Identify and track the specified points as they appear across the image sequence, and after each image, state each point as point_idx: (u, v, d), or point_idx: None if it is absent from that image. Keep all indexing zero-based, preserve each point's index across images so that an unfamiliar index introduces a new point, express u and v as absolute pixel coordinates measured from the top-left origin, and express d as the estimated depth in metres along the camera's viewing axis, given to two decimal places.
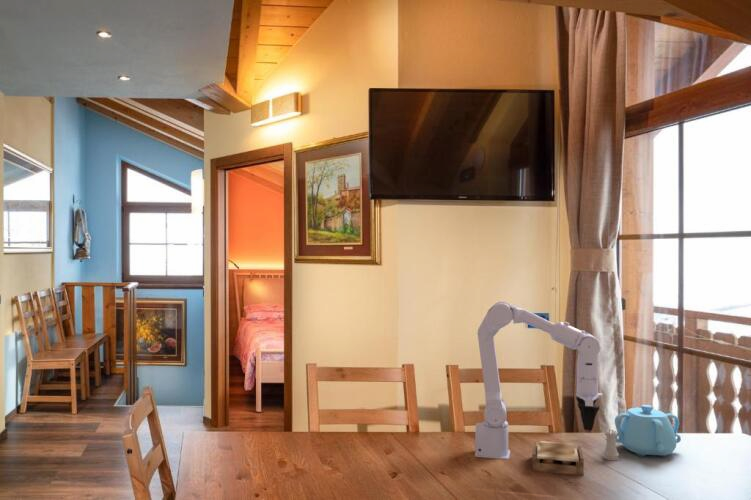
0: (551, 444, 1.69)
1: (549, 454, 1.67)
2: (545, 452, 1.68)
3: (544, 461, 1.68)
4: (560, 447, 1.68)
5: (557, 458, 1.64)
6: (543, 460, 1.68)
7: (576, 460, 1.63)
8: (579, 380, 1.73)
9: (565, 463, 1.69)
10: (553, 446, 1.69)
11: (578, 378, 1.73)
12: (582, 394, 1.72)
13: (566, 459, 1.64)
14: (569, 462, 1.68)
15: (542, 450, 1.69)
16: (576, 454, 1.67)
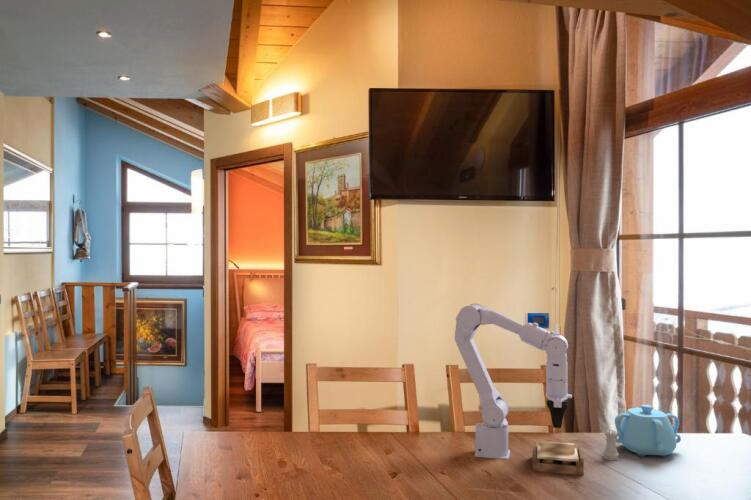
0: (551, 444, 1.69)
1: (549, 454, 1.67)
2: (545, 452, 1.68)
3: (544, 461, 1.68)
4: (560, 447, 1.68)
5: (557, 458, 1.64)
6: (543, 460, 1.68)
7: (576, 460, 1.63)
8: (548, 381, 1.72)
9: (565, 463, 1.69)
10: (553, 446, 1.69)
11: (547, 379, 1.73)
12: (551, 395, 1.71)
13: (566, 459, 1.64)
14: (569, 462, 1.68)
15: (542, 450, 1.69)
16: (576, 454, 1.67)
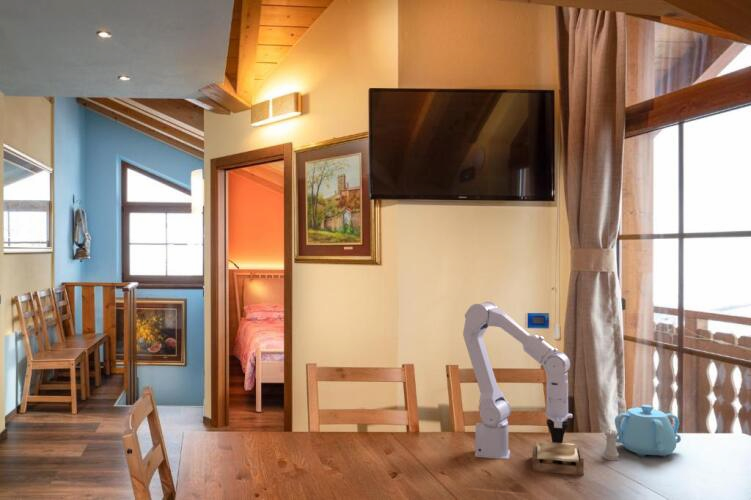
0: (551, 444, 1.69)
1: (549, 454, 1.67)
2: (545, 452, 1.68)
3: (544, 461, 1.68)
4: (560, 447, 1.68)
5: (557, 458, 1.64)
6: (543, 460, 1.68)
7: (576, 460, 1.63)
8: (548, 400, 1.69)
9: (565, 463, 1.69)
10: (553, 446, 1.68)
11: (547, 399, 1.70)
12: (551, 415, 1.68)
13: (566, 459, 1.63)
14: (569, 462, 1.68)
15: (542, 450, 1.69)
16: (576, 454, 1.67)
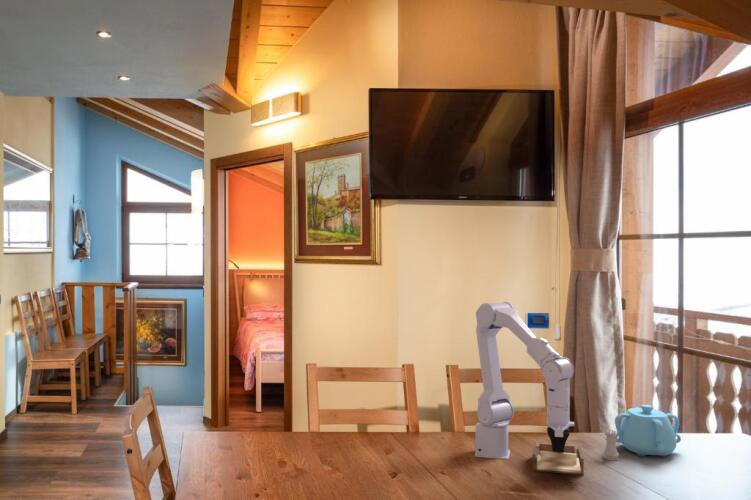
0: (552, 454, 1.61)
1: (550, 465, 1.59)
2: (545, 462, 1.60)
3: None
4: (561, 457, 1.60)
5: (558, 469, 1.56)
6: None
7: (578, 471, 1.55)
8: (549, 408, 1.61)
9: None
10: (554, 456, 1.60)
11: (548, 406, 1.62)
12: (552, 423, 1.60)
13: (567, 470, 1.55)
14: None
15: (542, 460, 1.61)
16: (578, 465, 1.59)
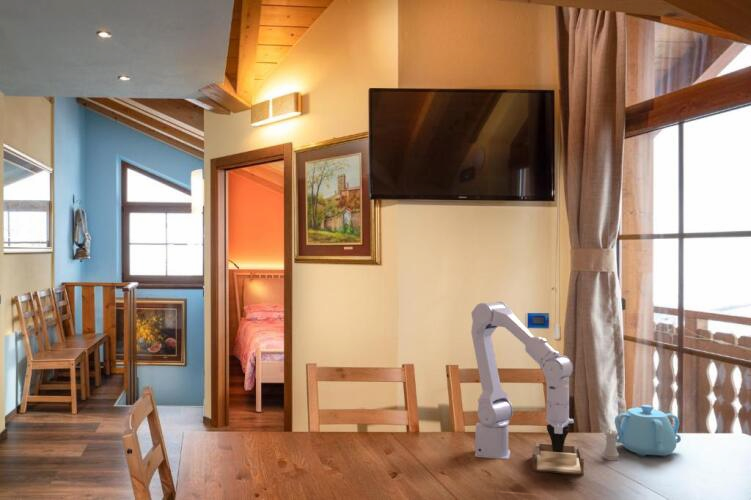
0: (552, 454, 1.60)
1: (550, 465, 1.58)
2: (545, 462, 1.60)
3: None
4: (561, 457, 1.60)
5: (558, 469, 1.56)
6: None
7: (578, 471, 1.55)
8: (549, 405, 1.64)
9: None
10: (554, 456, 1.60)
11: (547, 403, 1.65)
12: (552, 420, 1.63)
13: (567, 470, 1.55)
14: None
15: (542, 460, 1.61)
16: (578, 465, 1.59)
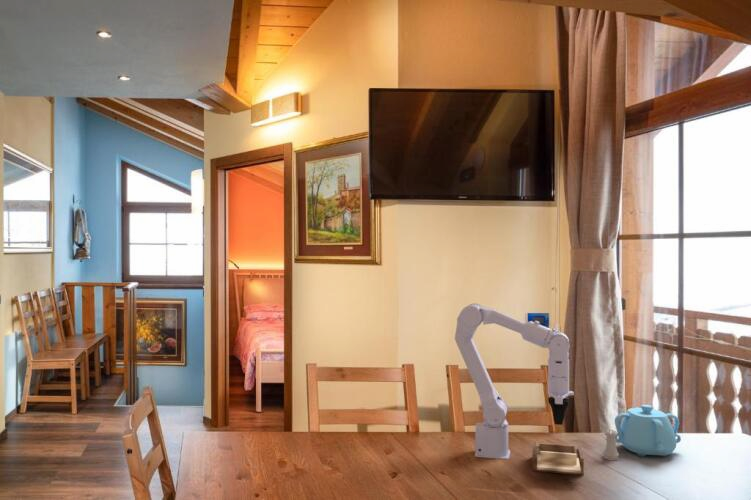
0: (552, 454, 1.60)
1: (550, 465, 1.58)
2: (545, 462, 1.60)
3: None
4: (561, 457, 1.60)
5: (558, 469, 1.56)
6: None
7: (578, 471, 1.55)
8: (550, 378, 1.74)
9: None
10: (554, 456, 1.60)
11: (549, 376, 1.74)
12: (553, 392, 1.73)
13: (567, 470, 1.55)
14: None
15: (542, 460, 1.61)
16: (578, 465, 1.59)
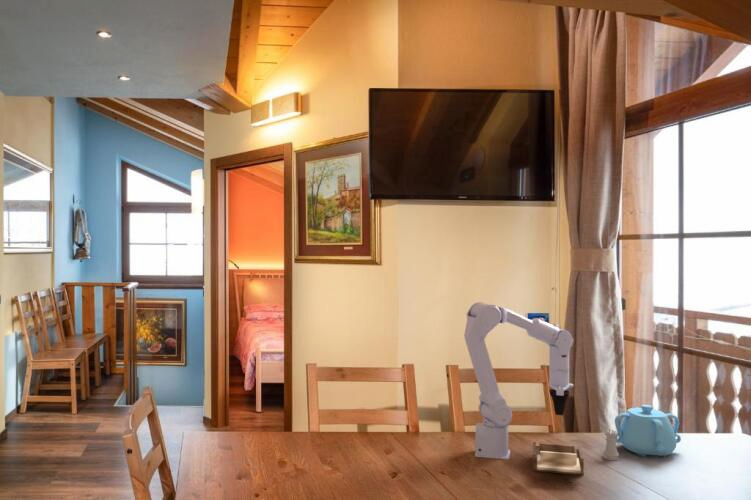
0: (552, 454, 1.60)
1: (550, 465, 1.58)
2: (545, 462, 1.60)
3: None
4: (561, 457, 1.60)
5: (558, 469, 1.56)
6: None
7: (578, 471, 1.55)
8: (551, 371, 1.84)
9: None
10: (554, 456, 1.60)
11: (550, 370, 1.84)
12: (554, 384, 1.83)
13: (567, 470, 1.55)
14: None
15: (542, 460, 1.61)
16: (578, 465, 1.59)
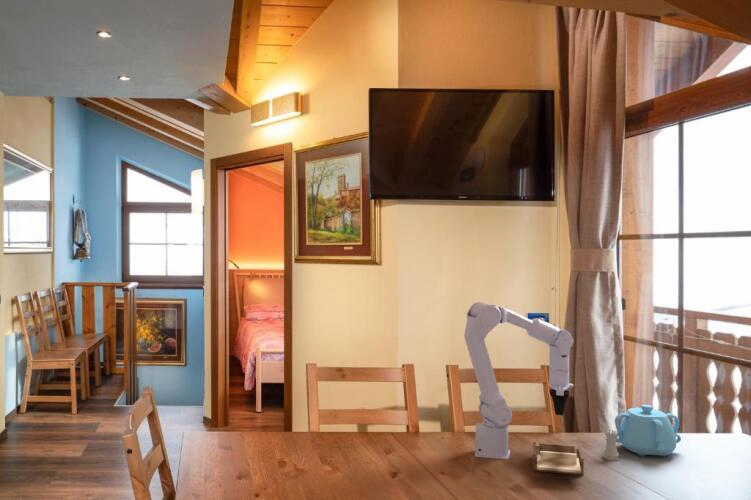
0: (552, 454, 1.60)
1: (550, 465, 1.58)
2: (545, 462, 1.60)
3: None
4: (561, 457, 1.60)
5: (558, 469, 1.56)
6: None
7: (578, 471, 1.55)
8: (551, 371, 1.84)
9: None
10: (554, 456, 1.60)
11: (550, 370, 1.84)
12: (554, 384, 1.83)
13: (567, 470, 1.55)
14: None
15: (542, 460, 1.61)
16: (578, 465, 1.59)
